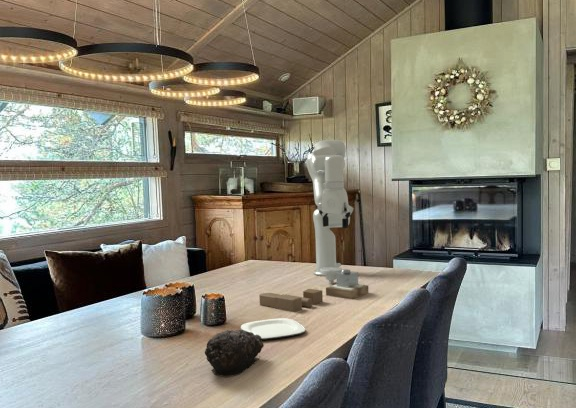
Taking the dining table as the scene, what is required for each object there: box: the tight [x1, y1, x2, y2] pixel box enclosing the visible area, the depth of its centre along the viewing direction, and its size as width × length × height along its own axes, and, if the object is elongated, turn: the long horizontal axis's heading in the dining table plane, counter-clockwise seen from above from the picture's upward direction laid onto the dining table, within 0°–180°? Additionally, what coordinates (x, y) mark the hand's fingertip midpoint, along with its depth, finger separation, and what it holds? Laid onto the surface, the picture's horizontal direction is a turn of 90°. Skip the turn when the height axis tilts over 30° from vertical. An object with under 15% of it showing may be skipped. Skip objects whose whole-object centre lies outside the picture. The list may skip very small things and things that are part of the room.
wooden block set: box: [259, 288, 324, 313], centre depth 191 cm, size 17×6×18 cm
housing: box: [336, 268, 359, 288], centre depth 203 cm, size 7×6×6 cm
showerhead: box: [320, 267, 343, 285], centre depth 224 cm, size 9×7×10 cm
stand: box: [325, 283, 369, 300], centre depth 203 cm, size 12×12×3 cm
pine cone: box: [204, 329, 265, 378], centre depth 130 cm, size 10×18×10 cm, turn 156°
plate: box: [240, 317, 306, 340], centre depth 158 cm, size 18×18×2 cm
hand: (335, 227), depth 213 cm, fingers open, 9 cm apart
